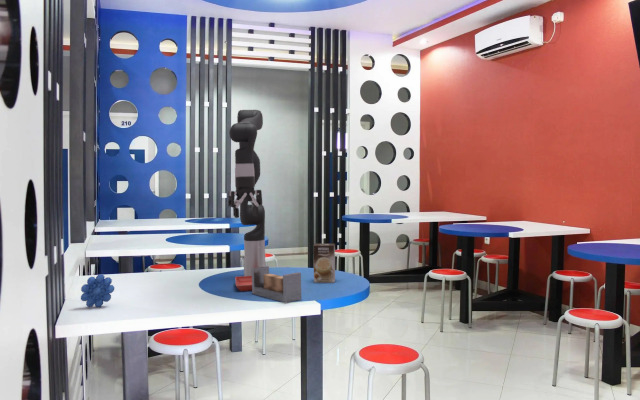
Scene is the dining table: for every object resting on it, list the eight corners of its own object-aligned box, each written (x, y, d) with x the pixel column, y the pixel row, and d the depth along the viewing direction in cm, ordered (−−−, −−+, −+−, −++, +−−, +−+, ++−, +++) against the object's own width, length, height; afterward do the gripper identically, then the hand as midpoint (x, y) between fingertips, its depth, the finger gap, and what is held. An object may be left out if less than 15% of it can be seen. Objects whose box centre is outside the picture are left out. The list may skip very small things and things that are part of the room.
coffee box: (313, 282, 229) (312, 245, 228) (314, 279, 235) (314, 243, 234) (334, 282, 228) (334, 245, 227) (335, 279, 234) (335, 243, 234)
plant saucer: (281, 290, 217) (281, 282, 217) (236, 293, 214) (235, 285, 214) (277, 282, 235) (276, 274, 234) (235, 284, 232) (235, 276, 231)
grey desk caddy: (252, 293, 210) (251, 268, 210) (267, 290, 215) (266, 266, 214) (286, 303, 194) (285, 275, 194) (301, 299, 199) (300, 272, 198)
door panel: (264, 295, 208) (263, 274, 208) (270, 293, 210) (269, 273, 210) (282, 300, 199) (282, 278, 199) (289, 298, 201) (288, 277, 201)
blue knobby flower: (117, 303, 199) (116, 271, 199) (113, 307, 193) (112, 274, 192) (84, 305, 197) (82, 273, 197) (79, 309, 191) (77, 276, 190)
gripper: (254, 175, 217) (255, 215, 218) (223, 176, 207) (225, 217, 208) (265, 175, 211) (266, 216, 212) (234, 175, 202) (235, 218, 203)
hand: (246, 217), depth 210 cm, fingers open, 8 cm apart
